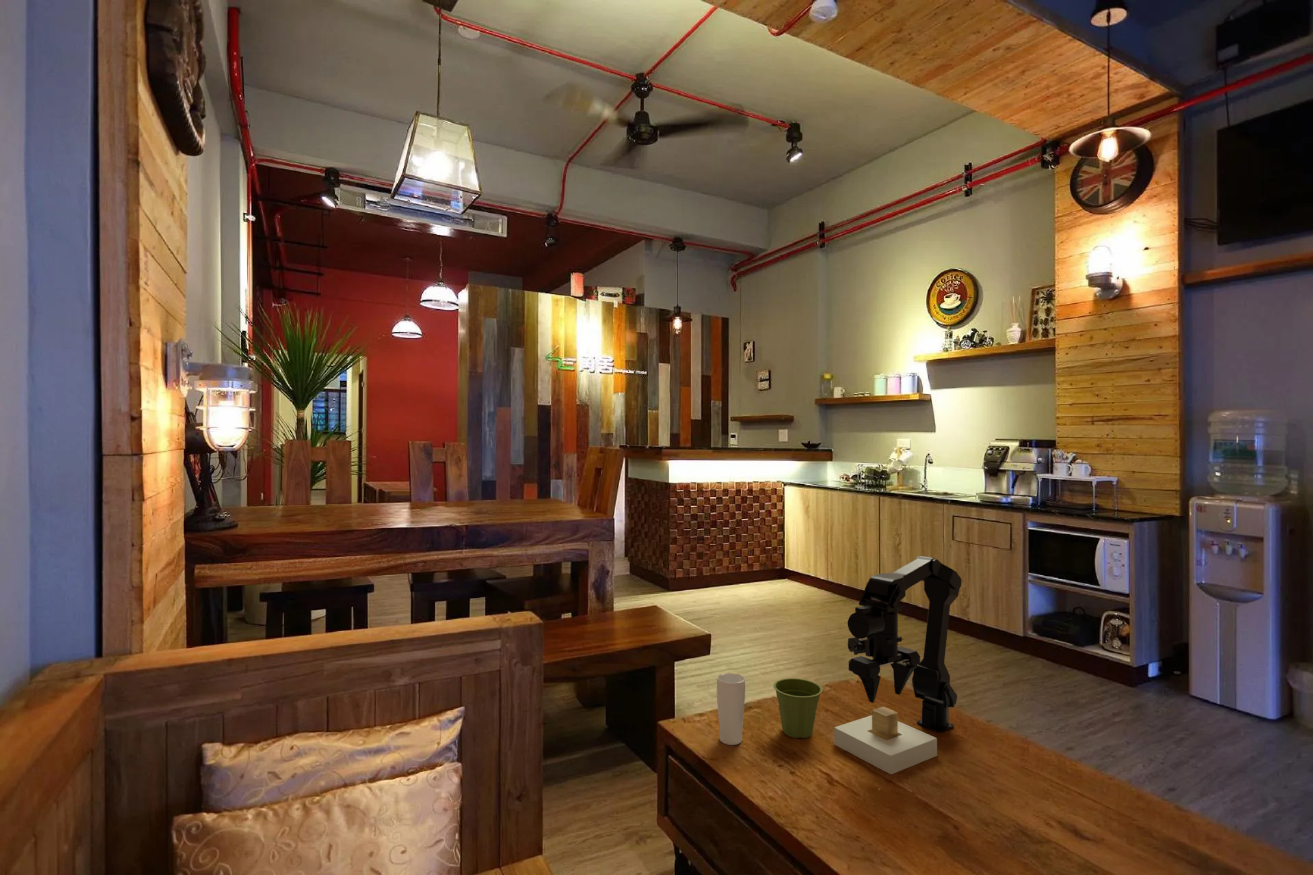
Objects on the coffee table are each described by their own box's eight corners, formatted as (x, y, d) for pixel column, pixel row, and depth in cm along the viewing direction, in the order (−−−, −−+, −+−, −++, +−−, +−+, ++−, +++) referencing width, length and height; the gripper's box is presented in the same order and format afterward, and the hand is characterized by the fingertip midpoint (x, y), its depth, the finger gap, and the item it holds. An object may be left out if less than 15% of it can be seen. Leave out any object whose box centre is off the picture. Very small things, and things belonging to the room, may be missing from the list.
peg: (883, 744, 149) (883, 706, 149) (897, 751, 146) (897, 712, 146) (872, 748, 147) (872, 710, 147) (886, 755, 143) (886, 716, 144)
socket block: (879, 728, 157) (879, 712, 157) (936, 755, 144) (936, 738, 144) (834, 744, 149) (834, 727, 149) (890, 774, 135) (890, 755, 135)
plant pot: (768, 738, 152) (768, 691, 152) (778, 719, 163) (778, 675, 163) (818, 747, 147) (818, 699, 147) (825, 726, 158) (825, 682, 158)
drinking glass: (744, 735, 153) (744, 673, 154) (745, 748, 147) (745, 683, 147) (716, 733, 154) (716, 672, 154) (716, 746, 147) (716, 682, 148)
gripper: (882, 617, 159) (882, 679, 158) (830, 628, 149) (830, 694, 149) (921, 628, 149) (921, 694, 149) (868, 640, 139) (868, 711, 139)
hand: (884, 698), depth 147 cm, fingers open, 9 cm apart
